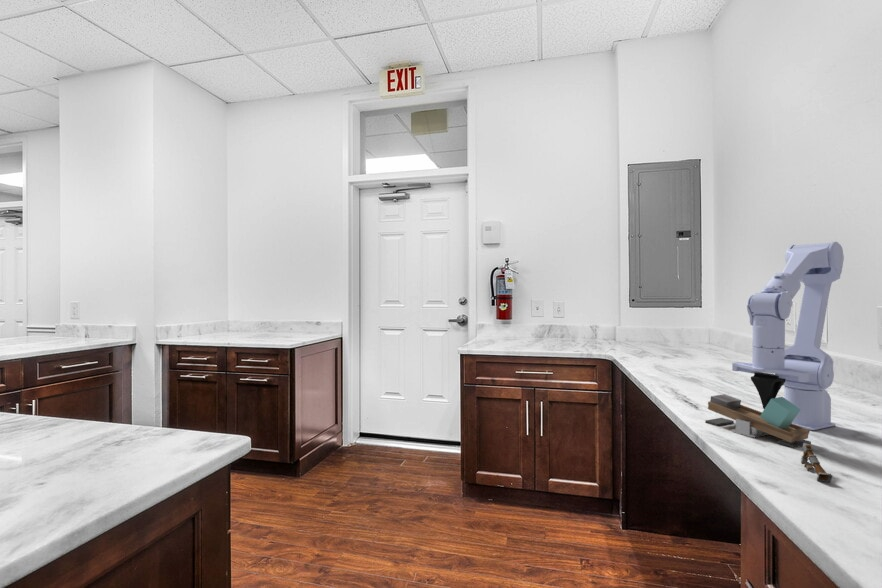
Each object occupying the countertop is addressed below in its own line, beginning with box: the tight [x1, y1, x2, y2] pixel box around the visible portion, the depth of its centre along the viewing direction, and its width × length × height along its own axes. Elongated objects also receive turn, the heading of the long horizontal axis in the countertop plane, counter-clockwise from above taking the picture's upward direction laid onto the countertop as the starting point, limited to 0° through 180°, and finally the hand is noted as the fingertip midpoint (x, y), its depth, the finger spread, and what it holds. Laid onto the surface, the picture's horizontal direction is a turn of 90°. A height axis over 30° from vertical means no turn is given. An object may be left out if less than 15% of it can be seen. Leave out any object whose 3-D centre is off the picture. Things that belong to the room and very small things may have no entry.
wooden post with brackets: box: [800, 443, 833, 483], centre depth 78 cm, size 2×8×4 cm, turn 162°
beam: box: [707, 393, 811, 442], centre depth 100 cm, size 6×18×4 cm, turn 23°
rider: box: [760, 396, 801, 429], centre depth 95 cm, size 4×4×5 cm
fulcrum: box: [705, 417, 812, 449], centre depth 100 cm, size 8×19×3 cm, turn 24°
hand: (767, 408), depth 97 cm, fingers closed, pressing on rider
